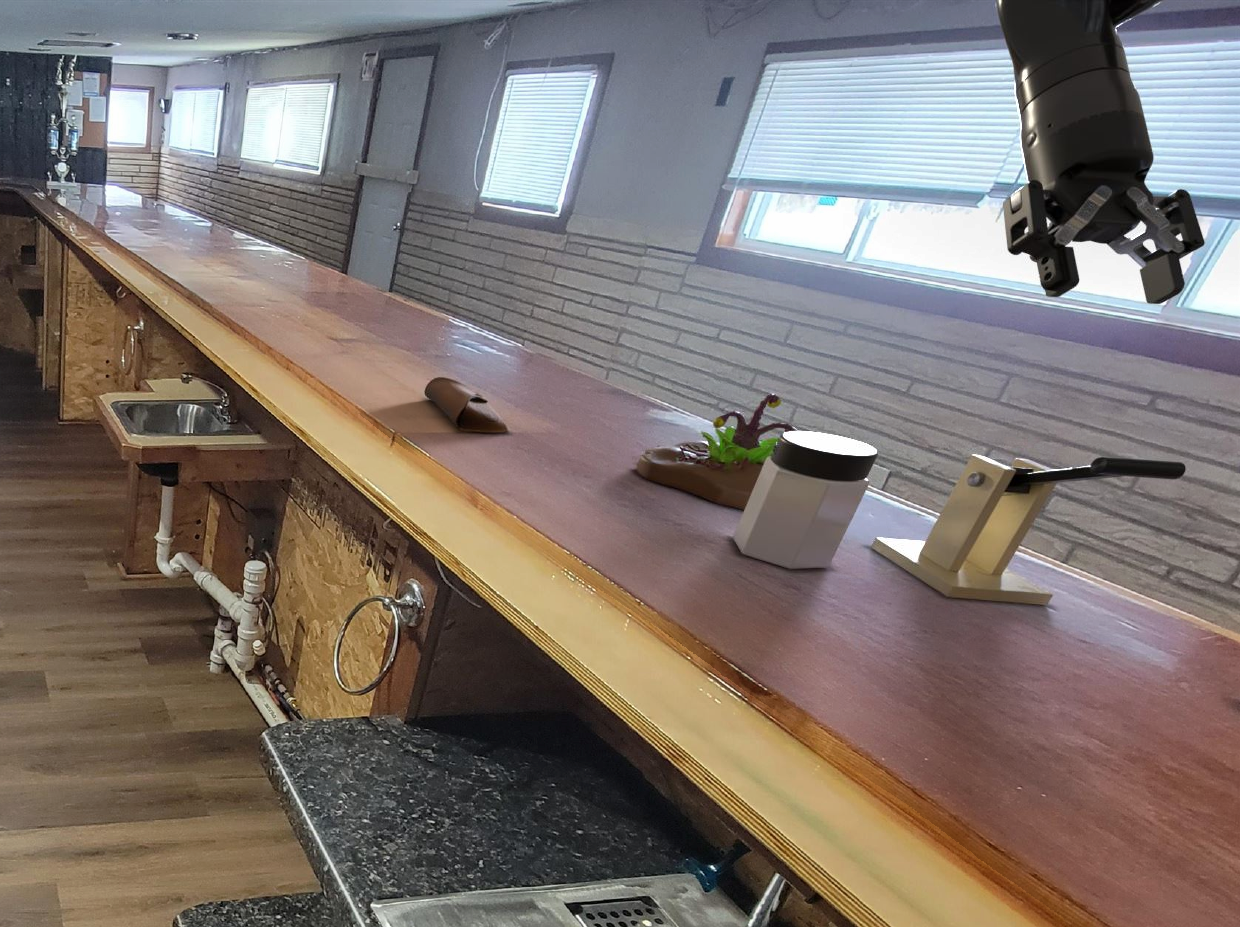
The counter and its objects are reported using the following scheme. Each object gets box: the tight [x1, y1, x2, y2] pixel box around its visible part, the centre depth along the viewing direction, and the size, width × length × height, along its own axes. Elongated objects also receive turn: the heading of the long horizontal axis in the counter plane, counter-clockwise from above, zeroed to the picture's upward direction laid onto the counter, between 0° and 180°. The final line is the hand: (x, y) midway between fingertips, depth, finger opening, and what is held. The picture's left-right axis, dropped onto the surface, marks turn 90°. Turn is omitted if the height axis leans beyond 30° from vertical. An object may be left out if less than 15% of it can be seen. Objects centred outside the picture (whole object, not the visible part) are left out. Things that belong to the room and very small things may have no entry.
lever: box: [1002, 456, 1187, 496], centre depth 81 cm, size 14×6×2 cm, turn 173°
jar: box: [732, 430, 879, 570], centre depth 91 cm, size 9×8×12 cm
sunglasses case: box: [423, 376, 510, 434], centre depth 136 cm, size 18×7×7 cm
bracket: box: [870, 454, 1058, 606], centre depth 88 cm, size 12×9×12 cm
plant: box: [636, 393, 798, 511], centre depth 111 cm, size 20×20×11 cm
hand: (1114, 295), depth 78 cm, fingers open, 8 cm apart
